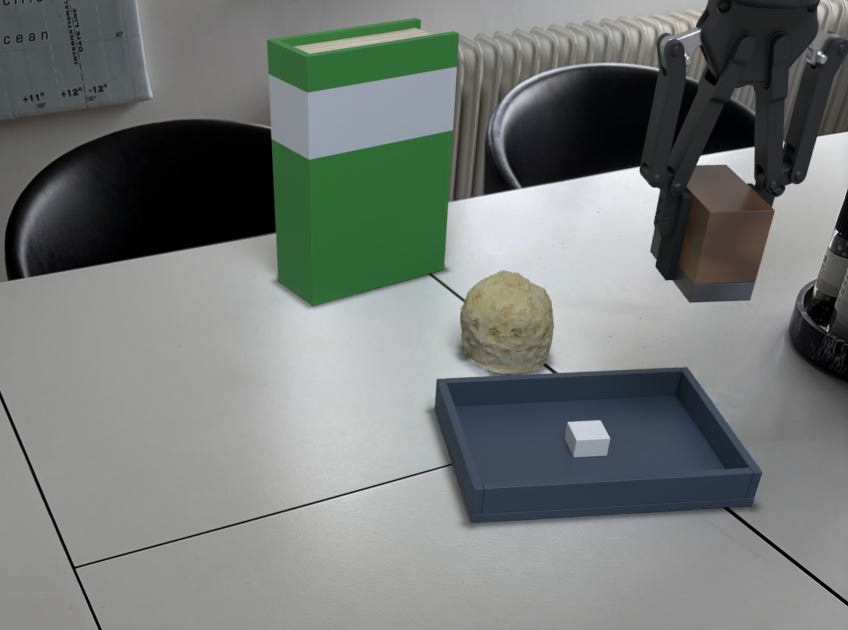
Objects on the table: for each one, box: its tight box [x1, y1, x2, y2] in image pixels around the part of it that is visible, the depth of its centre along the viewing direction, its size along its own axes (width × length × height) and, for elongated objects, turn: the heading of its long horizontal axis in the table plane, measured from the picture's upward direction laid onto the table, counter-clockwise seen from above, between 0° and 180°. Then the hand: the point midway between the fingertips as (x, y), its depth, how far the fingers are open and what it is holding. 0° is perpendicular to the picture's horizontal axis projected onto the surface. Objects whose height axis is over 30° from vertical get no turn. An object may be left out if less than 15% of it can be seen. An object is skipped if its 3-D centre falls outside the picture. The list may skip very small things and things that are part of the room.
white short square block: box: [565, 420, 610, 458], centre depth 90 cm, size 3×3×2 cm
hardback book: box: [266, 17, 460, 307], centre depth 110 cm, size 18×7×24 cm, turn 124°
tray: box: [434, 366, 763, 524], centre depth 90 cm, size 24×18×3 cm
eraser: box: [649, 164, 776, 304], centre depth 82 cm, size 5×10×7 cm, turn 6°
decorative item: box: [459, 269, 555, 375], centre depth 102 cm, size 10×10×10 cm
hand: (698, 271), depth 85 cm, fingers closed on eraser, 5 cm apart
